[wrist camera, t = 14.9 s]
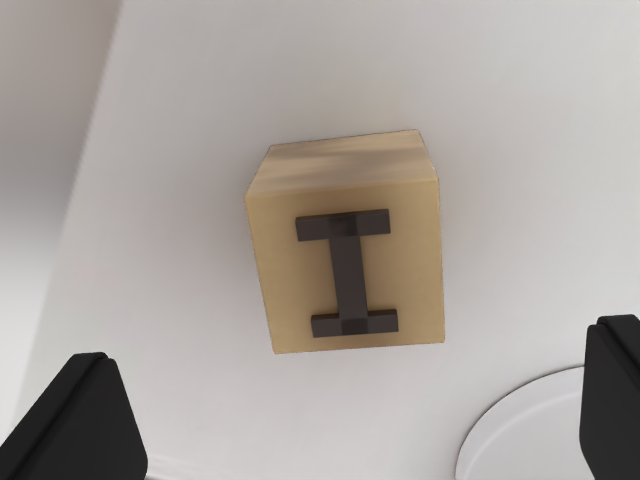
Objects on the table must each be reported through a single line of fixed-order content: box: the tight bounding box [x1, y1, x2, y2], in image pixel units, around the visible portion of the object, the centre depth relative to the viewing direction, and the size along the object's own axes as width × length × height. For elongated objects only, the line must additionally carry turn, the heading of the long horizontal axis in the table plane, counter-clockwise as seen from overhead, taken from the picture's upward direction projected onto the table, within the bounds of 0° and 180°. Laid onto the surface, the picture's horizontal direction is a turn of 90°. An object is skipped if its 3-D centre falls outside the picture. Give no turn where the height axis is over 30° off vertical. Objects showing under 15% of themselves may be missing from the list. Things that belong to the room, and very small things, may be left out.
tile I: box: [243, 130, 445, 354], centre depth 17 cm, size 5×5×5 cm
